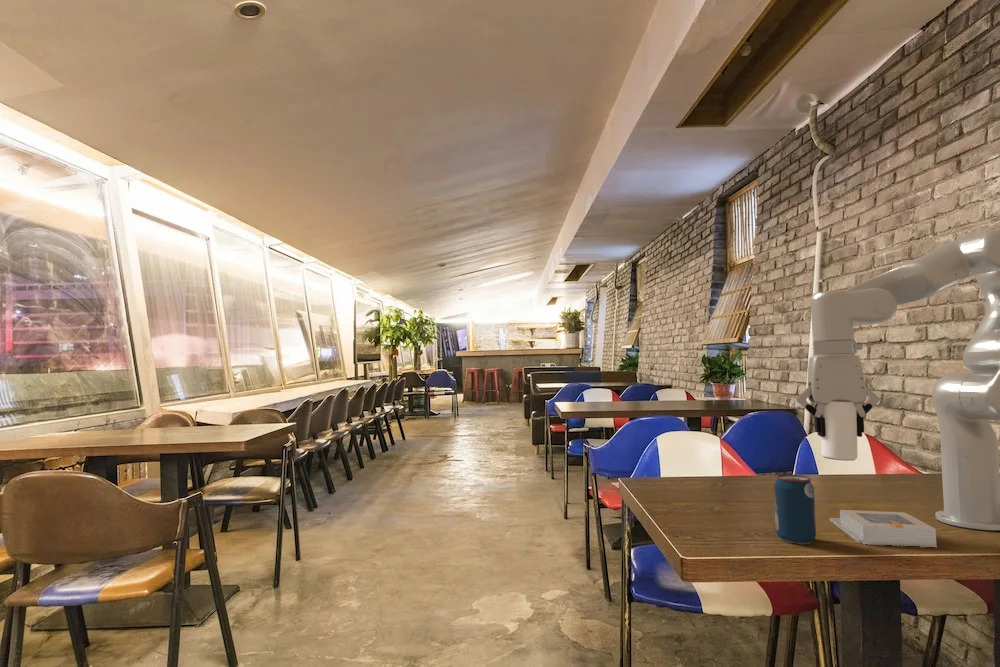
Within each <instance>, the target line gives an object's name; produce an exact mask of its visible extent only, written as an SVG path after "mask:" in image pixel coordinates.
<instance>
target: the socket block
mask: <svg viewBox="0 0 1000 667" xmlns="http://www.w3.org/2000/svg"><path fill="white" fill-rule="evenodd" d="M829 522H831V523H832V522H833V523H832V524H833V525H835V526H836V527H837V528H839V529H840V530H841V531H842V532H844V533H845V534H846V535H848V537H851V538H852V539H853V540H854V541H856V542H857V543H861V544H863V545H866V544H867V545H868V546H885V545H892V546H891V547H905V546H920V547H919V548H925V547H936V548H935V549H937V548H938V545H937V544H938V543H937V530H936V528H935V527H934V526H931V525H929V524H927V523H926V522H924V521H921V520H920V519H918V518H916V517H914V516H913V515H911V514H908V513H906V512H903V511H881V510H880V511H877V510H875V511H874V510H855V509H854V510H852V509H849V510H848V509H840V510H839V517H829ZM900 545H901V546H900ZM903 545H904V546H903Z"/></svg>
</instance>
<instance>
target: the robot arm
mask: <svg viewBox="0 0 1000 667" xmlns="http://www.w3.org/2000/svg"><path fill="white" fill-rule="evenodd" d="M973 276H976V282H977V285H978V288H979V289H980V290H981V293H982V296H983V298H984V301H985V305H986V311H985V314H984V316H983V318H982V320H981V322H980V323H979V325H978V327H977V328H976V330H975V331H974V333H973V335H972V336H971V339H970V340H969V341H968V343H967V345H966V346H965V349H964V351H963V355H962V361H963V365H964V366H965V367H966V369H968V371H971V372H955V373H950V374H949V373H948V374H946V375H944V376H942V377H940V378H939V379H938V380H937V381H936V382H935V383H934V384H933V388H932V391H931V397H932V403H933V407H934V410H935V414H936V417H937V422H938V428H939V437H940V438H939V440H940V458H941V477H942V478H941V479H942V480H941V482H942V495H943V510H938V511H936V512H935V513H934V514H935V519H936V520H937V521H940V522H941V523H943V524H948V525H951V526H955V527H959V528H965V529H972V530H980V531H997V532H998V531H1000V461H999V460H1000V457H999V442H998V441H999V440H998V438H997V435H996V431H995V429H994V428H993V426H992V424H991V423H990V421H997V422H1000V229H994V230H987V231H984V232H979V233H976V234H975V233H974V234H972V235H967V236H963V237H959V238H957V239H954V240H952V241H950V242H947V243H946V244H943V245H941V246H939V247H937V248H935V249H933V250H931V251H929V252H927V253H926V254H924V255H921V256H919V257H917V258H915V259H913V260H911V261H909V262H906V263H903V264H901V265H899V266H896V267H894V268H892V269H890V270H888V271H886V272H883V273H881V274H879V275H877V276H874V277H872V278H869V279H867V280H864V281H862V282H860V283H858V284H855V285H854V286H850V287H849V288H848V289H846V290H844V289H843V290H839V289H836V290H835V289H834V290H825V291H818V292H815V293H814V294H812V295H811V297H810V311H811V312H810V315H811V329H812V331H811V332H812V341H813V342H812V343H813V344H812V345H813V346H812V347H813V356H809V360H808V366H807V387H806V388H805V390H803V391H802V392H801V393H800V395H798V396H797V397H796V399H795V401H796V402H797V403H798V404H799V405H800V406H801V407H803V408H804V409H805V410H806V411H807V412H808V413H809V414H810V415H812V417H813V422H814V423H813V424H814V431H815V433H817V436H818V437H820V438H821V437H825V435H826V431H825V418H823V416H822V413H823V410H824V408H825V405H826V404H829V403H831V401H852V403H853V404H854V406H855V407H856V412H857V438H858V437H860V438H862V437H863V433H864V432H865V423H864V417H866V415H867V414H868V413H869V412H870V411H871V410H872V409H873V407H874V406H876V404H878V403H879V402H880V400H881V398H880V397H879V396H878V395H877V394H876V393H875V392H874V391H872V390H871V389H870V388H869V387H868V386H866V381H865V373H864V369H863V365H862V362H861V359H860V356H859V355H856V353H857V351H858V350H863V344H862V342H860V343H858V342H856V340H855V332H854V327H855V326H856V327H857V326H868V325H877V324H878V325H879V324H881V323H885V322H887V321H889V320H890V319H892V317H894V316H895V314H896V312H897V309H898V306H899V305H904V304H909V303H915V302H918V301H921V300H925V299H928V298H931V297H933V296H935V295H937V294H940V293H941V292H943V291H945V290H947V289H949V288H951V287H953V286H955V285H956V284H958V283H959V284H960V283H961V282H962V281H965V280H967V279H969V278H971V277H973ZM867 398H868V400H867ZM808 400H809V402H811V403H814V406H813V405H812V404H810V403H809V402H808ZM864 402H865V403H864ZM862 403H863V404H862Z"/></svg>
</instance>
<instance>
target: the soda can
mask: <svg viewBox="0 0 1000 667" xmlns="http://www.w3.org/2000/svg"><path fill="white" fill-rule="evenodd" d="M773 493H774V496H773V498H774V518H775V519H774V521H775V522H774V523H775V524H774V525H775V533H776V535H777V537H778V538H779V539H780V540H781V541H782V540H783V541H782V542H784V541H786V542H785V543H788V542H791V543H790V544H792V543H797V544H796V545H810V544H812V543H813V542H814V540H815V539H816V536H817V531H816V527H817V526H816V508H815V507H816V506H815V487H814V486H813V483H812V482H811V478H810V477H809V476H805V475H801V474H800V475H797V474H779V475H777V476H776V480H775V482H774V484H773Z"/></svg>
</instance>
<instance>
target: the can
mask: <svg viewBox="0 0 1000 667" xmlns="http://www.w3.org/2000/svg"><path fill="white" fill-rule="evenodd" d="M822 416H823V418H825V431H826V435H825V437H821V436H820V442H821V443H820V445H821V446H820V447H821V448H820V449H821V450H820V451H821V452H820V453H821V456H822V457H823V458H824V459H829V460H835V461H845V462H846V461H856V460H857V459H858V436H857V412H856V407H855V406H854V404H853V403H852V401H831V403H829V404H826V405H825V408H824V410H823V413H822Z"/></svg>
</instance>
